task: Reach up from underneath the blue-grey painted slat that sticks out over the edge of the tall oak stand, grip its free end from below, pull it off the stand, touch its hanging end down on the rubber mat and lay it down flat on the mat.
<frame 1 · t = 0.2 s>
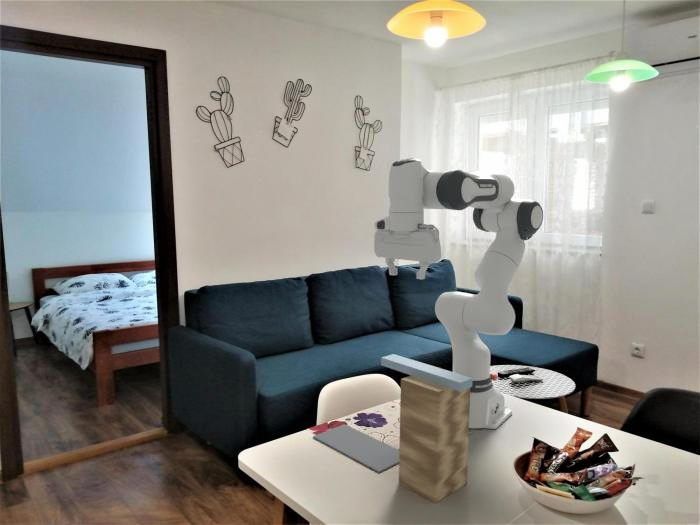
hand: (406, 276, 139), 47 cm above the table, tool pointing down, fingers open, 8 cm apart
mat: (360, 447, 147), on the table
oak stand: (432, 483, 129), on the table
slat: (424, 375, 128), point 26 cm above the table, touching oak stand
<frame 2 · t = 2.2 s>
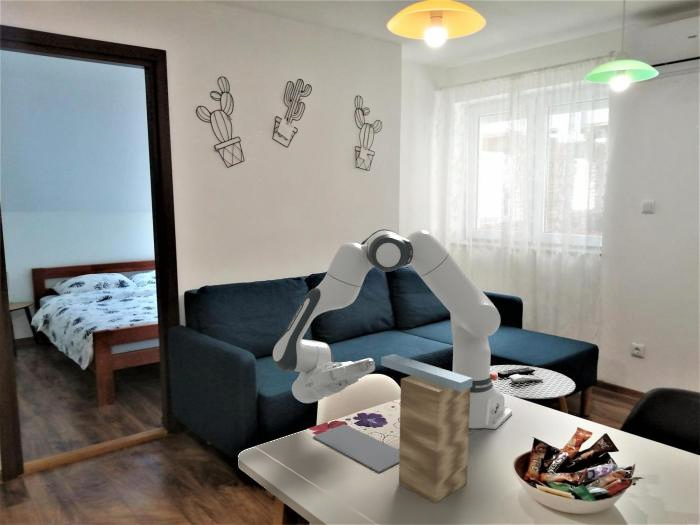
hand: (359, 365, 145), 23 cm above the table, tool pointing upward, fingers open, 8 cm apart
nothing on the table moved.
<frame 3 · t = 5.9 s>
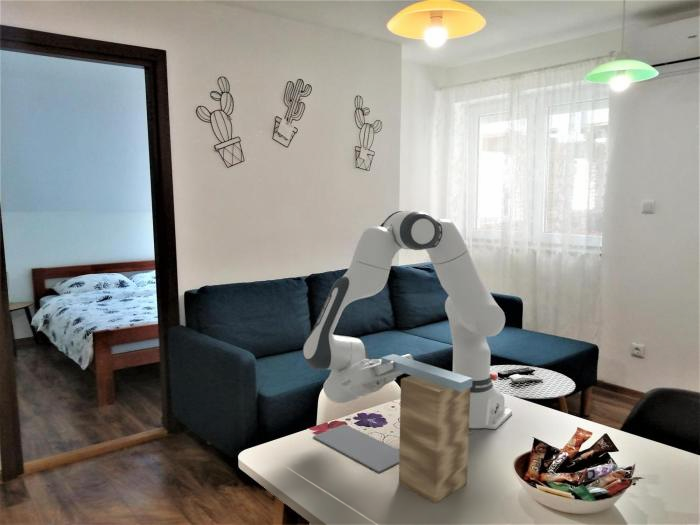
hand: (401, 362, 133), 27 cm above the table, tool pointing upward, fingers closed on slat, 4 cm apart
slat: (424, 375, 128), point 26 cm above the table, touching gripper, oak stand
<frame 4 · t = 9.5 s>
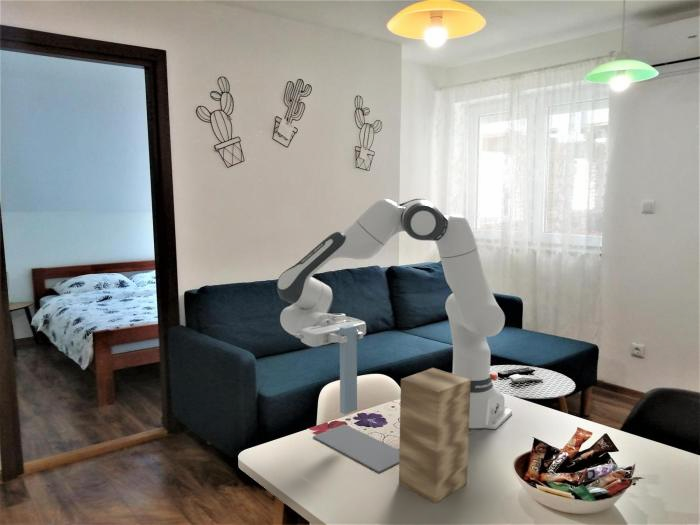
hand: (353, 338, 146), 30 cm above the table, tool horizontal, fingers closed on slat, 4 cm apart
slat: (346, 368, 149), point 21 cm above the table, tilted 89°, touching gripper
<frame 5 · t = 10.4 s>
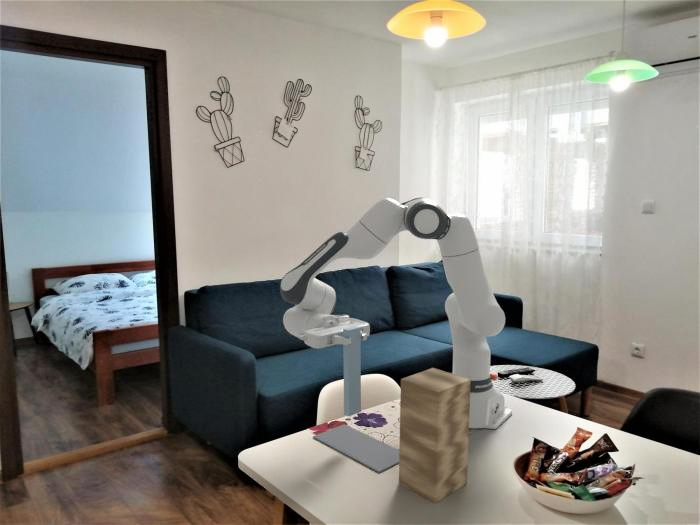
hand: (357, 339, 145), 30 cm above the table, tool horizontal, fingers closed on slat, 4 cm apart
slat: (349, 370, 148), point 21 cm above the table, tilted 89°, touching gripper
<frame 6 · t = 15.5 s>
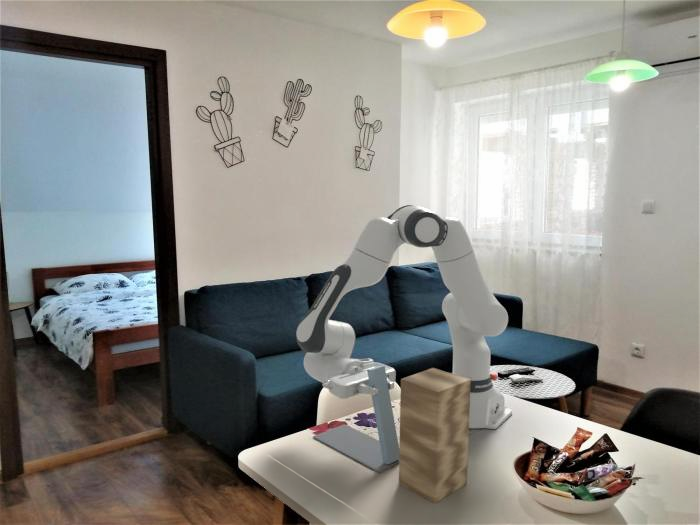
hand: (384, 388, 138), 19 cm above the table, tool horizontal, fingers closed on slat, 5 cm apart
slat: (381, 413, 140), point 12 cm above the table, tilted 75°, touching gripper, mat
when the fingers open (9 cm above the table, at t = 18.6 s): slat drops 5 cm, resting on mat.
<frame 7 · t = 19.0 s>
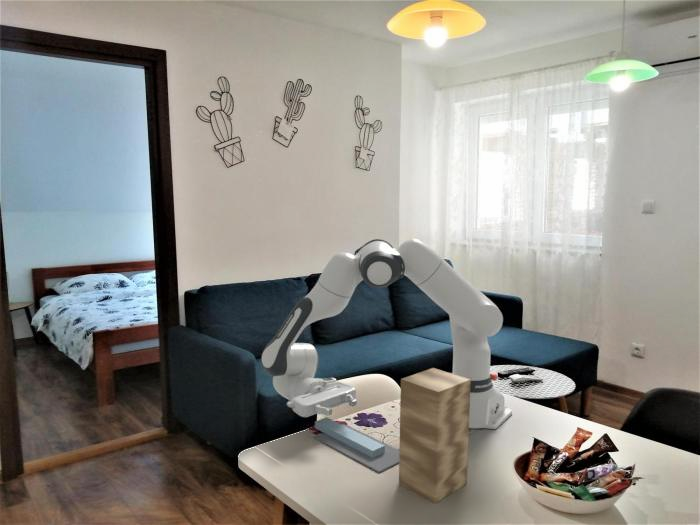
hand: (342, 407, 151), 9 cm above the table, tool horizontal, fingers open, 8 cm apart
slat: (348, 439, 151), resting on mat
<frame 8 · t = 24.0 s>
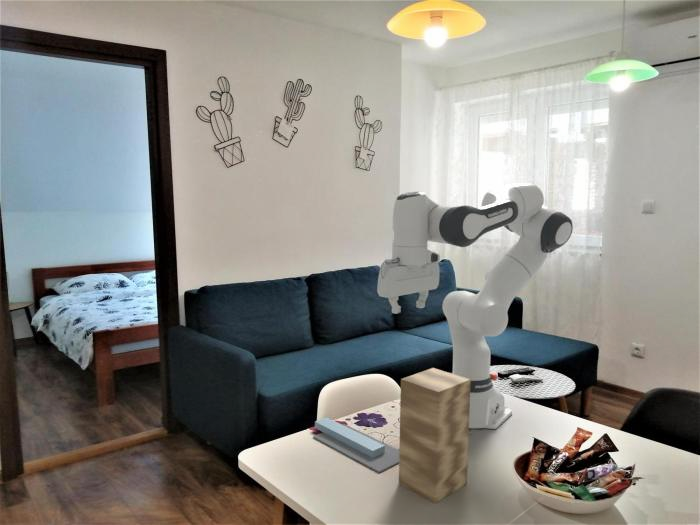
hand: (408, 310, 138), 39 cm above the table, tool pointing down, fingers open, 8 cm apart
nothing on the table moved.
at the end: slat resting on mat; slat inside the target area on the mat (4.8 cm from its centre), point 0.4 cm above the mat's base; the gripper is holding nothing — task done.
